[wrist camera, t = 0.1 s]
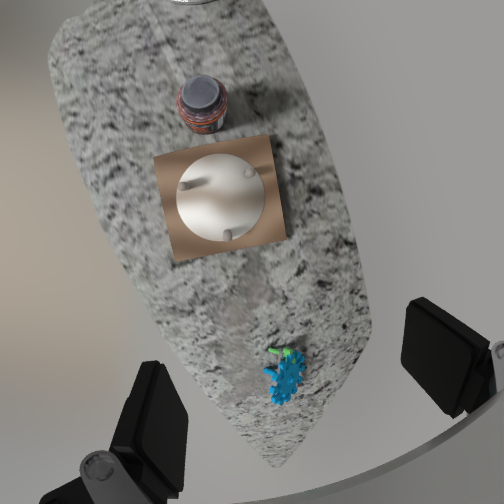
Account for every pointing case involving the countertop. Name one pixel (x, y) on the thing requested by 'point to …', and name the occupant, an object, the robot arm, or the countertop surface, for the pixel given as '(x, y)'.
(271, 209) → the pin board
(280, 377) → the gear
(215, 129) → the supplement bottle
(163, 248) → the countertop surface
